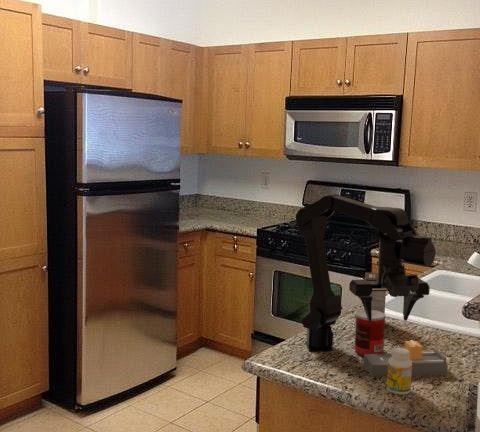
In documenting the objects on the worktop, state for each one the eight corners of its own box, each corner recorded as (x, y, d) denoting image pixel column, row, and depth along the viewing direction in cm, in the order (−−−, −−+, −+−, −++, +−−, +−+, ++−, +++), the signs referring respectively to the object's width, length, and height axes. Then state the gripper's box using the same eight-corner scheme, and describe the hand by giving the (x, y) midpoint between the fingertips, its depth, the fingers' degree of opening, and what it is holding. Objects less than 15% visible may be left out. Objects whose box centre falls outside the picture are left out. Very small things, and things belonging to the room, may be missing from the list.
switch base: (371, 376, 139) (372, 360, 138) (363, 365, 146) (364, 349, 145) (446, 375, 140) (447, 359, 140) (435, 363, 147) (436, 348, 147)
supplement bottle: (415, 393, 130) (417, 353, 129) (395, 396, 128) (398, 356, 127) (400, 383, 135) (402, 345, 134) (381, 387, 133) (383, 348, 132)
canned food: (384, 349, 157) (386, 311, 155) (381, 359, 150) (383, 319, 148) (356, 345, 160) (358, 308, 158) (352, 355, 152) (354, 316, 150)
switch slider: (409, 360, 141) (410, 345, 140) (404, 354, 145) (404, 339, 144) (421, 360, 141) (422, 345, 140) (415, 354, 145) (416, 339, 144)
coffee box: (362, 320, 181) (364, 271, 179) (383, 322, 180) (385, 273, 178) (362, 330, 173) (365, 278, 170) (384, 331, 171) (387, 280, 169)
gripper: (364, 267, 130) (361, 332, 132) (441, 266, 132) (437, 330, 134) (349, 257, 141) (347, 317, 143) (421, 256, 143) (418, 315, 145)
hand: (387, 320), depth 141 cm, fingers open, 9 cm apart
